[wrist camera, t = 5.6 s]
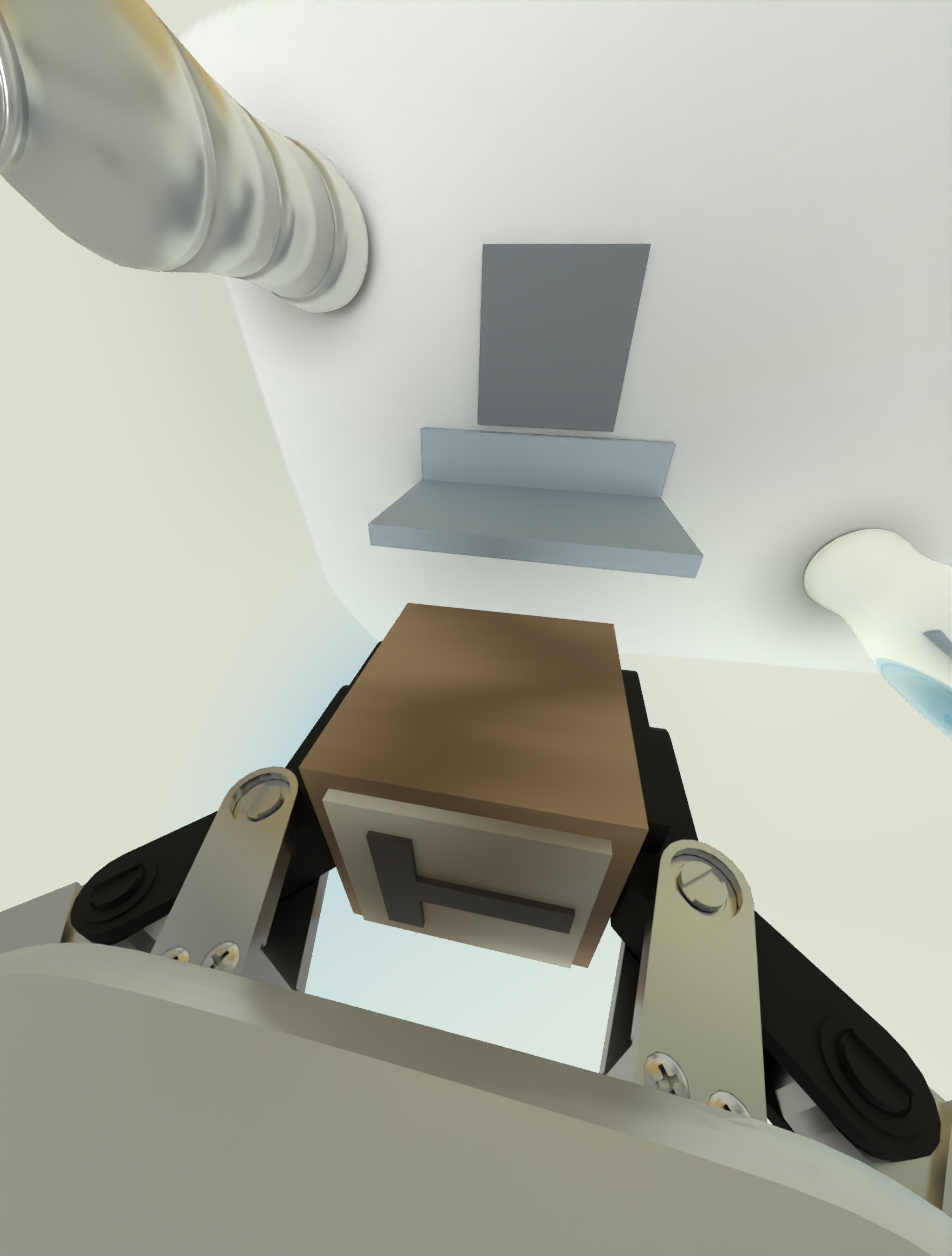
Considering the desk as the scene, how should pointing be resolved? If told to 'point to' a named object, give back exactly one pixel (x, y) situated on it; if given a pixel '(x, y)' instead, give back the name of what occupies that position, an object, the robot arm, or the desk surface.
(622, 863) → the letter cube
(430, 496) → the screen
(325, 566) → the desk surface
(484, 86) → the desk surface
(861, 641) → the beer glass
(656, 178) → the desk surface
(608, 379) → the mat
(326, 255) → the plastic bottle
